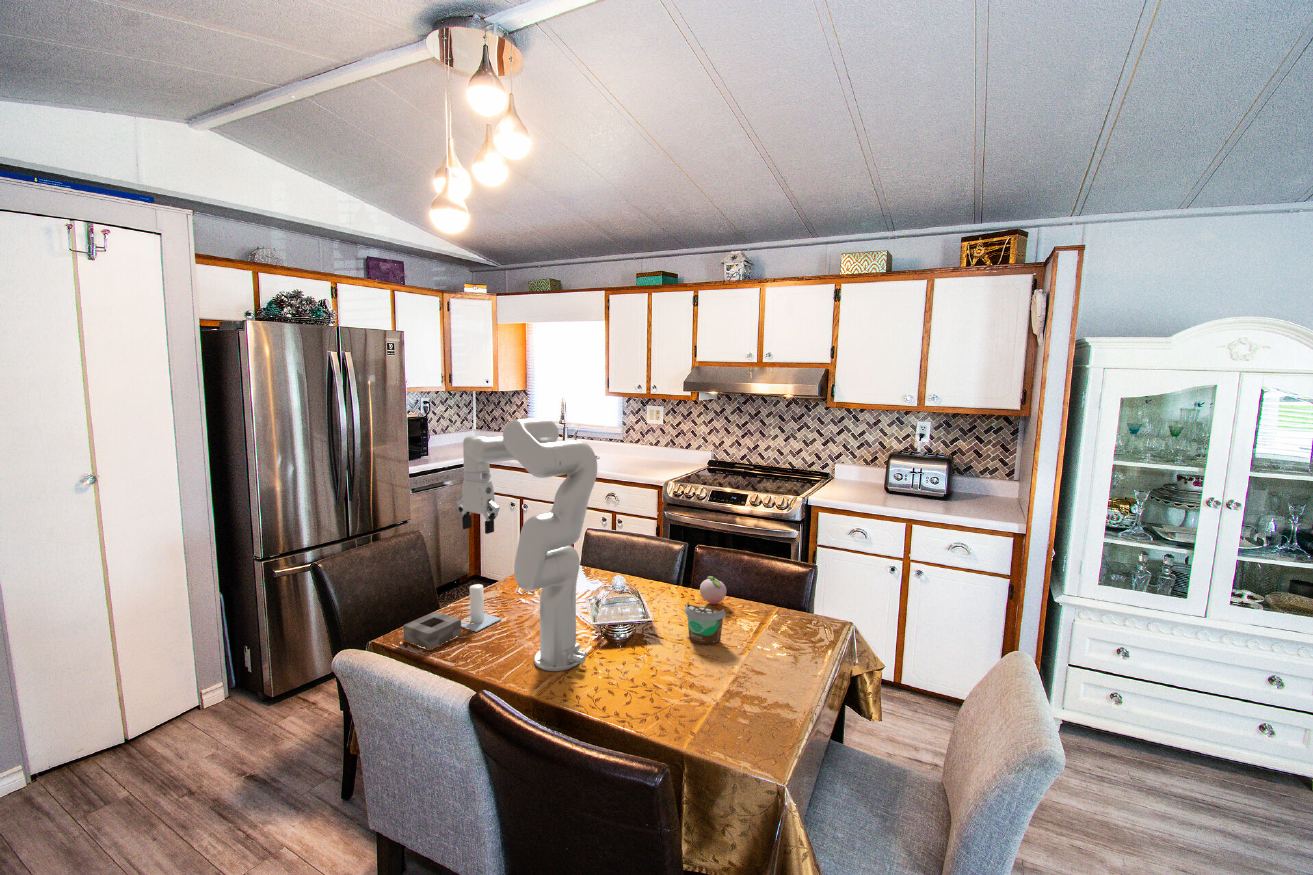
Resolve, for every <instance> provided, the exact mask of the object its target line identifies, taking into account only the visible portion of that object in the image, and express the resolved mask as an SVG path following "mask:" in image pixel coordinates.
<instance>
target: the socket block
mask: <svg viewBox="0 0 1313 875" xmlns="http://www.w3.org/2000/svg"><path fill="white" fill-rule="evenodd" d="M461 620H462V619H461V618H457V617H455V616H451V615H448V614H445V613H441V612H438V611H433V612H431V613H429V614H426V615H424V616H421V617H419V618H417V619H415V620H412V621H410V622H408V623H405V624H403V625H402V626H403V641H404V640H405V641H408V642H410V643H414V644H416V645H419V646H421V647H425V648H426V649H432V648H434V647H436V646H438V645H441V644H442V643H445V642H446V641H449V640H450V639H453V638H455V637H456V636H459V635H460V634H461V635H462V628H461Z"/></svg>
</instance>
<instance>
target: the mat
mask: <svg viewBox="0 0 1313 875" xmlns="http://www.w3.org/2000/svg"><path fill="white" fill-rule="evenodd" d="M468 617H470V615H468V616H467V618H466V617H464V618H463V619H471V618H468ZM499 620H501V621H502V618H501V617H497V616H494V615H491V614H487V613H485V612H484V622H482V624H481V623H479V624H461V626H462V627H464V628H469V629H470V630H474V631H476V632H477V631H478V630H481V629H482V628H485V627H486V626H489V625H491V624H492V623H495V622H497V621H499ZM461 621H468V620H462V619H461ZM469 621H470V620H469ZM499 622H500V621H499ZM461 623H471V622H461ZM497 623H498V622H497ZM495 624H496V623H495ZM491 626H492V625H491ZM489 627H490V626H489ZM485 629H486V628H485ZM481 631H482V630H481Z"/></svg>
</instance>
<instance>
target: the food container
mask: <svg viewBox="0 0 1313 875" xmlns="http://www.w3.org/2000/svg"><path fill="white" fill-rule="evenodd" d="M684 613H685V615H687V625H688V629H687V630H688V638H689V641H690V642H692V643H693V644H694V645H695V644H696V645H697V646H702V645H704V646H703V647H705V646H706V647H708V646H709V645H711V646H715V645H718V644H719V643H720V642H721V637H722V636H721V635H722V630H723V621H724V619H725V618H726V611H725V609H722V610H715V609H712V608H711V607H710V608H709V607H706V606H697V605H692V604H690V602H689V600H688V601H687V603H686V605H685V609H684ZM709 647H710V646H709Z"/></svg>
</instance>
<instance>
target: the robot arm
mask: <svg viewBox="0 0 1313 875" xmlns="http://www.w3.org/2000/svg"><path fill="white" fill-rule="evenodd" d="M558 439H559V427H558V425H556V424H555V422H553V421H552V420H550V419H548V418H544V417H535V418H533V417H532V418H519V419H517V418H516V419H512V420H511V421H509V422H508V423H507V424H506V425H505V426H504V428H503V431H502V436H493V437H488V436H484V435H470V436H466V437H464V438H463V441H462V442H463V443H462V444H463V445H462V447H463V449H462V451H463V452H462V453H463V454H462V455H463V481H462V492H461V498H460V499H458V500H457V501H456V505H457V507H458V511H459V512H460V516H461V519H462V529H463V530H467V529H470V528H472V527H473V523H472V521H473V520H472V518H473V517H472V514H477V515H478V514H479V515H483V517H484V518H485V520H484V533H485V534H486V535H489V534H492V533H494V532H495V520H496V518H497V516H498V514H499V511H500V506H499V505H497V504H496V499H495V490H494V485H493V481H492V480H490V479H491V477H492V475H491V474H490V473H491V472H490V467H491V466H490V463H491V464H492V463H497V462H500V463H501V462H506V461H507V462H509V461H514V460H516V461H517V462H518V463H519V464H520V465H521V466H522V467H523V468H524V469H525V470H526V471H527V473H529V474H530V475H532V476H533V477H536V478H538V479H545V478H546V479H547V478H551V477H553V478H554V477H557V476H564V475H567V476H566V478H565V479H564V480H563V481H562V482H561V484H560V486H559V487H558V489H557V490H556V493H555V494H554V499H553V500H554V501H553V505H552V508H551V510H549V511H548V512H546V513H545V512H544V513H540V514H536V515H532V516H530V517H529V518H528V519H526V521H524V524H523V525H522V527H521V530H520V535H519V538H518V545H517V549H516V554H515V559H514V560H515V561H514V565H513V566H514V569H513V570H514V571H513V573H514V579H515V582H516V585H517V586H518V587H519V588H520V589H522V590H523V591H527V592H532V591H535V590H536V591H537V590H539V589H541V591H540V595H539V650H538V651H537V652H536V653H535V655H534V658H533V659H534V664H535V666H536V667H537V668H539V669H541V670H543V671H547V672H549V671H550V672H561V671H566V670H567V671H568V670H570V669H573V668H574V667H576V666H578V665H579V664H581V665H583V664H585V661H586V657H587V652H585V651H581V650H580V643H577V622H576V621H577V612H576V610H577V608H576V607H577V603H576V602H577V582H578V578H579V576H578V575H579V571H580V565H581V564H580V563H581V562H580V556H579V553H578V551H577V550H576V549H575V548H574V547H573V544H576V543H577V542H578V541H579V539H580V537H581V535H582V532H583V527H584V523H585V518H586V513H587V509H588V504H589V500H590V496H591V493H592V491H593V488H594V485H595V482H596V479H597V474H598V462H597V457H596V454H595V452H594V450H593V448H592V447H591V446H590V445H589V444H588V443H587V442H584V441H580V440H561V441H558ZM471 513H472V514H471Z"/></svg>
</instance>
